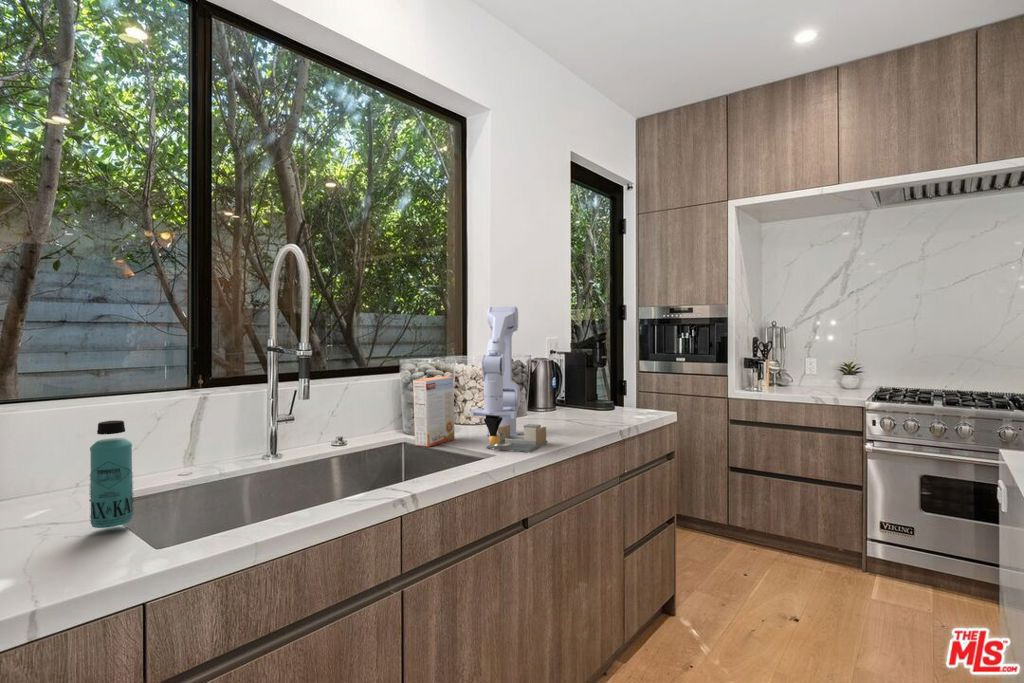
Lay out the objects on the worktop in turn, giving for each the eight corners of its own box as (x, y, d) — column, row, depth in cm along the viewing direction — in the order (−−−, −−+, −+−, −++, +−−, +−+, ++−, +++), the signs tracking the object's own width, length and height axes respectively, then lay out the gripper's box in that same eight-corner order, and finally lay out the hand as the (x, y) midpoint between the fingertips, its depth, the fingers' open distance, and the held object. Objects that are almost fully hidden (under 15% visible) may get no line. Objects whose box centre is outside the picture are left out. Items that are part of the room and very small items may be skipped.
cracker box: (440, 438, 187) (440, 376, 186) (455, 439, 183) (454, 376, 183) (413, 445, 175) (412, 379, 174) (428, 447, 171) (427, 379, 171)
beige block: (523, 441, 173) (523, 425, 173) (528, 439, 177) (528, 423, 177) (536, 442, 171) (536, 426, 171) (541, 440, 175) (541, 424, 175)
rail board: (486, 448, 169) (486, 431, 168) (507, 439, 182) (507, 423, 182) (529, 452, 163) (529, 434, 163) (547, 443, 176) (547, 426, 176)
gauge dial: (488, 445, 169) (487, 434, 169) (496, 442, 175) (496, 431, 175) (505, 447, 167) (505, 435, 167) (514, 443, 172) (513, 432, 172)
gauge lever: (496, 441, 170) (496, 433, 170) (501, 441, 169) (501, 433, 169) (488, 444, 165) (488, 436, 164) (493, 445, 164) (493, 437, 164)
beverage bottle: (87, 530, 101) (84, 421, 101) (130, 521, 106) (128, 417, 106) (93, 539, 97) (90, 425, 96) (138, 530, 101) (136, 420, 101)
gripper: (465, 396, 167) (466, 441, 167) (509, 398, 160) (510, 445, 161) (477, 393, 173) (477, 437, 173) (519, 395, 167) (519, 441, 167)
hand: (493, 441), depth 167 cm, fingers closed, pressing on gauge lever
